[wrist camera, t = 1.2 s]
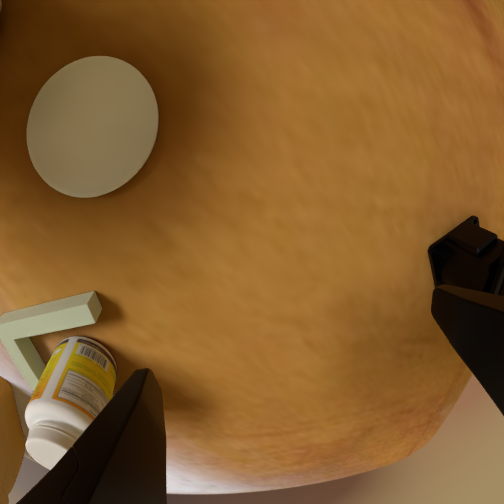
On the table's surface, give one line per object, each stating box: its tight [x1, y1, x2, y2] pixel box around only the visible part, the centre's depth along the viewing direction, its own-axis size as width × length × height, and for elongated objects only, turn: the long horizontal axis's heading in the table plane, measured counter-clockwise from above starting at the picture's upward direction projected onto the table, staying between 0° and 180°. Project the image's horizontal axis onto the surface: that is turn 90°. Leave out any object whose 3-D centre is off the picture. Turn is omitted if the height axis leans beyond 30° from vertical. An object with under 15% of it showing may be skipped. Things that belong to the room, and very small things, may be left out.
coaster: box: [26, 56, 159, 198], centre depth 17 cm, size 9×9×1 cm
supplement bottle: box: [25, 336, 117, 470], centre depth 18 cm, size 6×6×10 cm
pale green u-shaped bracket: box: [0, 291, 102, 392], centre depth 21 cm, size 10×12×2 cm
